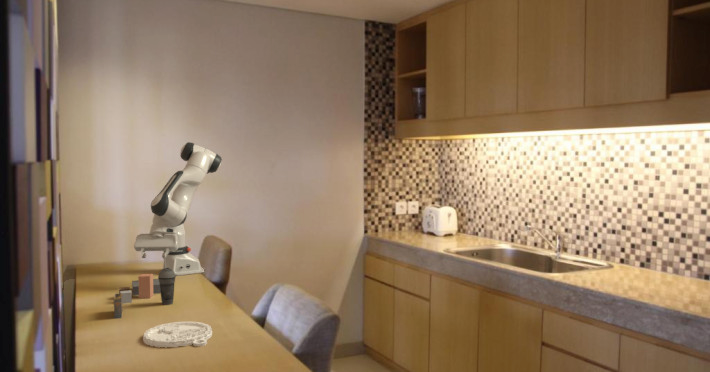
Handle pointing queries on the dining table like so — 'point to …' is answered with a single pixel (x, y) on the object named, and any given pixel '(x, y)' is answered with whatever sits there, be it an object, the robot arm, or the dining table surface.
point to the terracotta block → (145, 285)
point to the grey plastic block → (126, 296)
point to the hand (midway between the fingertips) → (153, 257)
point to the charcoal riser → (155, 287)
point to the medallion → (178, 334)
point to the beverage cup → (167, 285)
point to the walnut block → (124, 289)
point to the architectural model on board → (118, 306)
